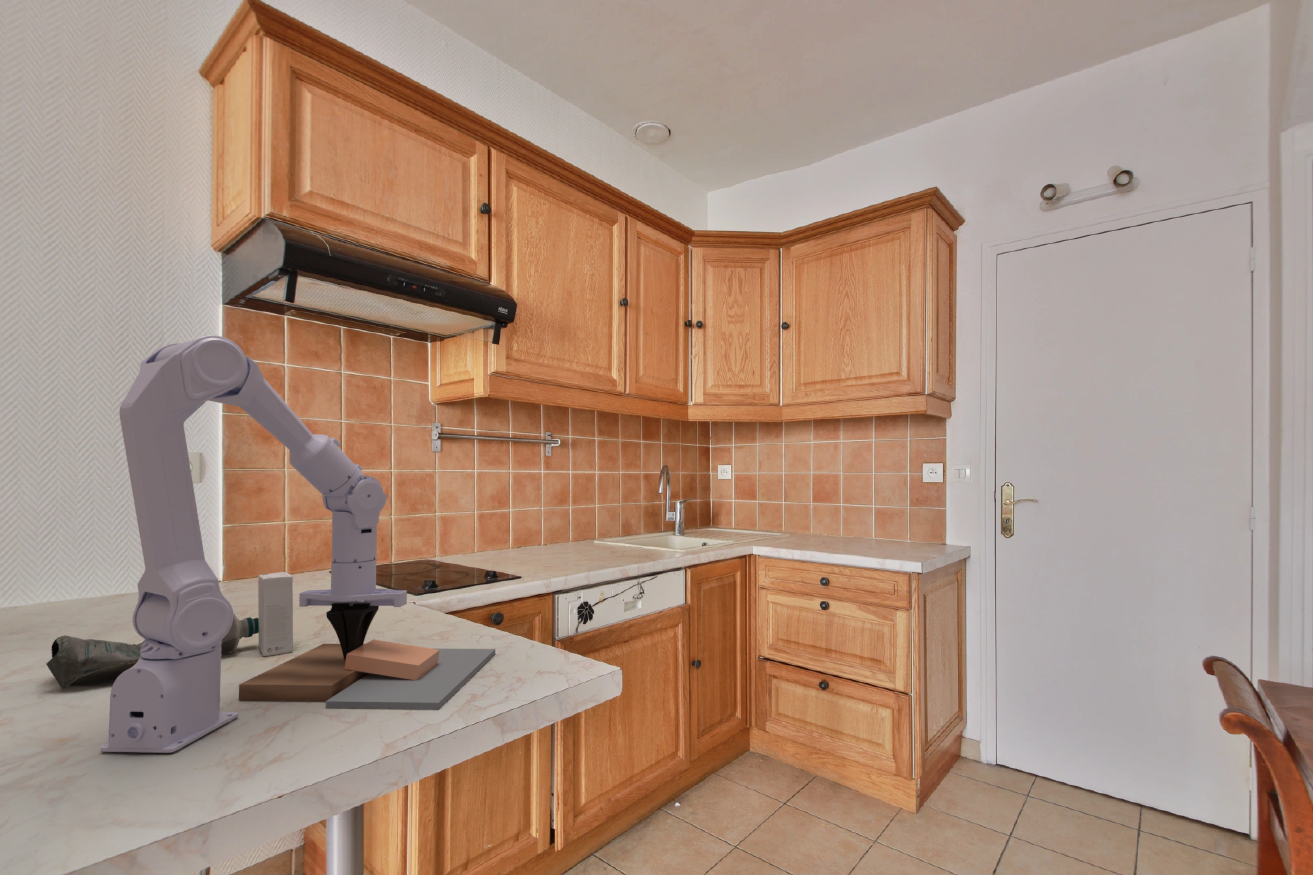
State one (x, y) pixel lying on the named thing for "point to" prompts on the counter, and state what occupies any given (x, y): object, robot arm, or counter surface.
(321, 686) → the deck
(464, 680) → the mat
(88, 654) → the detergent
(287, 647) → the skincare box
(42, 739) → the counter surface
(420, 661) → the tile
